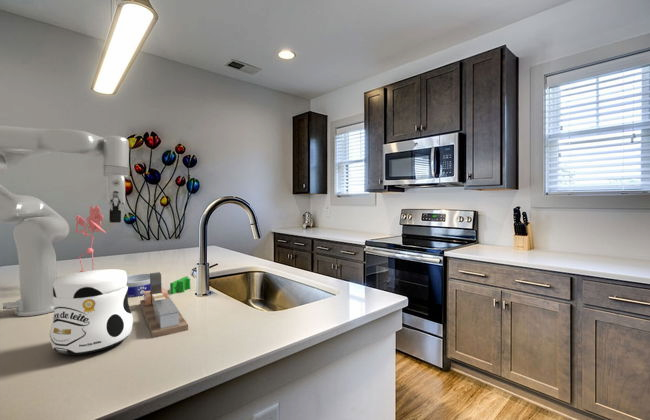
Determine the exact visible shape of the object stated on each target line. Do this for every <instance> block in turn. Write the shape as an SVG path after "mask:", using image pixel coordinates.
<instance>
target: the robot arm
mask: <svg viewBox="0 0 650 420" xmlns="http://www.w3.org/2000/svg"><path fill="white" fill-rule="evenodd" d="M129 149H130V143H129V140H128V139H127V138H126V137H125V136H121V135H120V136H119V135H105V136H104V137H103V136H99V135H97V134H95V133H91V132H88V131H84V130H79V129H68V128H36V127H23V126H13V125H12V126H11V125H0V175H3V174H6V173H7V172H9V171H10V170H12V169H14V168H15V167H16V166H18V165H19V164H20V163H22V162H23V161H24V160H26V159H27V158H29V157H30V156H31V155H33V154H34V155H45V156H46V155H49V154H51V153H67V154H68V153H69V154H79V155H84V156H88V157H91V158H102V177H106V196H107V204H108V205H109V206H110V208H109V223H115V224H117V223H121V222H122V210H121V205H122V206H124V205H125V204H126V178H129V164H130V163H129V160H130V159H129V157H130V155H129V153H130V150H129ZM0 223H2V224H16V226H15V227H14V229H13V240H14V243H15V246H16V251H17V256H18V257H17V259H18V272H19V289H20V290H19V291H20V298H19V299H16V300H15V301H12V302H11V301H8V302H3V303H2V309H3V310H13V309H15V310H14V315H15V316H17V317H33V316H38V315H44V314H49V313H51V312H52V313H54V306H53V296H54V295H53V283H54V280H55V279H57V278H58V267H57V266H58V265H57V254H56V251H55V248H54V246H53V243H56V242H59V241H62V240H64V239H66V238H67V236H68V235H69V233H70V225H69V223H68V222H67V220H66V219H65V218H64V217H63V216H61V214H59V213H58V212H57V211H55V210H54V209H53V208H52V207H51V206H49V205H48V204H47V203H45V202H44V201H43V200H41V199H39V198H37V197H36V196H33V195H20V194H15V193H13V192H11V191H10V190H8V189H7V188H6V187H5V186H3V185H2V184H1V183H0Z"/></svg>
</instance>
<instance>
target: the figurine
mask: <svg viewBox="0 0 650 420" xmlns="http://www.w3.org/2000/svg"><path fill="white" fill-rule="evenodd" d="M103 220H104V215H103V214H102V213H101V208H100V207H99V204H98V205H97V204H96V206H95V207H94V206H93V205H92V204H91V205H90V208H89V216H87V217H86V220H85V219H84V218H83V217H82V216H80V215H79V214H77V216H76V217H75V221H76V227H75V234H78V233H81V234H83V235H84V236H85V237H88V236H89V237H91V242H90V243H91V244H90V247H87V249H86V251H85V252H86V253H84V254H82V255H80V256H78V258H79V263H80V266H81V269H82V270H80V271H79V272H85V271H86V270H84V267H83V263H82V260H81V257H83V256H85V255H91V261H92V262H91V263H92V265H91V266H92V267H91V268H92V271H93V270H95V269H94V251H95V250H94V249H93V242H94V239H95V237H94V236H93V235H91V234H89V232H91V233H92V234H93V233H94V232H95V231H96V232H97V233H99V232H100V231H101V232H103V233H104V234H107V232H106V230H104V229H103V228H102V221H103ZM79 225H80V226H81V227H82V228H83V229H82V230H78V226H79ZM86 228H87V230H86ZM85 230H86V232H85Z"/></svg>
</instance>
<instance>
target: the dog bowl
mask: <svg viewBox="0 0 650 420" xmlns="http://www.w3.org/2000/svg"><path fill="white" fill-rule="evenodd" d="M150 273H151V272H149V273H146V272H143V273H134V274H127V286H128V299H129V298H130V297H131V298H138V296H139V297H144V296H143V295H144V292H145V291H150Z"/></svg>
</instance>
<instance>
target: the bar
mask: <svg viewBox="0 0 650 420" xmlns="http://www.w3.org/2000/svg"><path fill="white" fill-rule="evenodd" d="M149 273H150V294H151V302H152V304H153V301H155V300H161V299H165V297H164V296H163V294H162V289H163V288H162V274H161V272H160V271H158V272H149Z"/></svg>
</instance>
